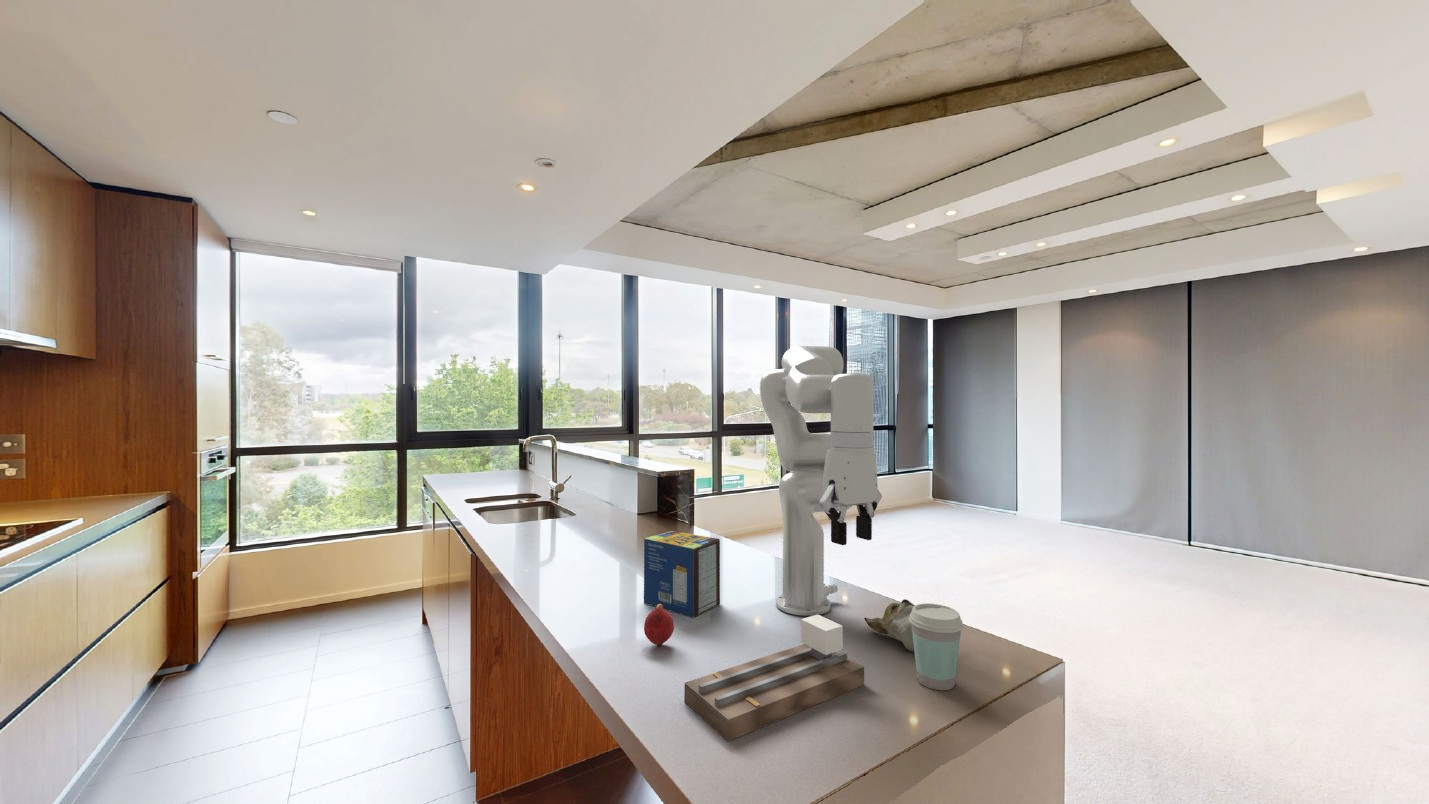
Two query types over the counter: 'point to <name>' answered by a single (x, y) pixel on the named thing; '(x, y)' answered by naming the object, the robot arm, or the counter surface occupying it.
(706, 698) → the linear slide rail
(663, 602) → the protein box
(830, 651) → the white block
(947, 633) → the coffee cup
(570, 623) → the counter surface
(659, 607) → the onion
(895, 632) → the ceramic sculpture
